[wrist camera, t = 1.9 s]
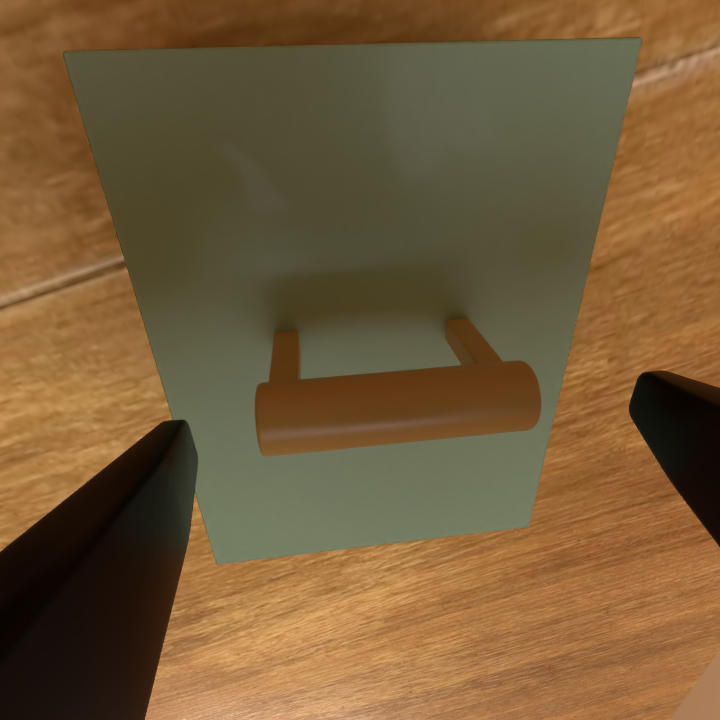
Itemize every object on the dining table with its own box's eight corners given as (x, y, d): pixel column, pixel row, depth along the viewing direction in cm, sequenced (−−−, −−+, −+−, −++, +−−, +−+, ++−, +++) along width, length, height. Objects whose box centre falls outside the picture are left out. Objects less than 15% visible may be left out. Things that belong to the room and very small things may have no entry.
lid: (520, 512, 19) (589, 638, 14) (219, 547, 18) (191, 696, 13) (622, 40, 11) (854, -7, 6) (77, 54, 10) (-118, 8, 5)
